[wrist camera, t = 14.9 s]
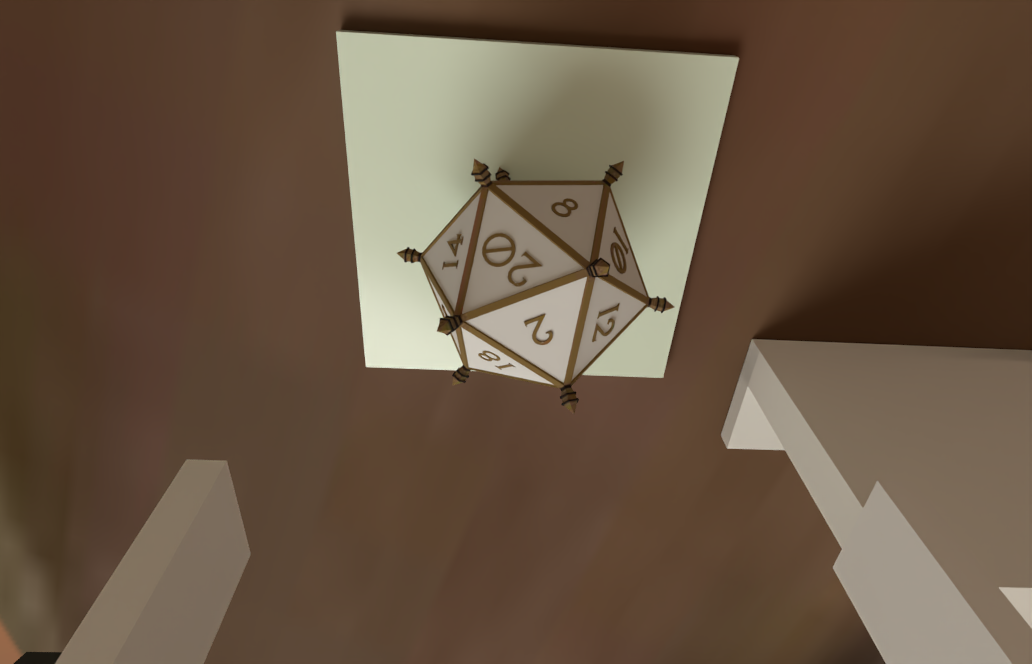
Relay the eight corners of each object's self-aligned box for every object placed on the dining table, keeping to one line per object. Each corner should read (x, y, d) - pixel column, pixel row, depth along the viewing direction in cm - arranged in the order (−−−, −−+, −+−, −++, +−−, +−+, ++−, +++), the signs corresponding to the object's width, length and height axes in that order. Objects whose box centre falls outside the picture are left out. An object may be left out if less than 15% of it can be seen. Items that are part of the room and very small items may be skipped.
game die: (484, 215, 28) (302, 279, 20) (609, 81, 22) (417, 104, 15) (595, 373, 27) (450, 496, 20) (753, 279, 21) (629, 405, 14)
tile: (660, 370, 29) (662, 377, 28) (368, 359, 28) (365, 367, 28) (733, 55, 21) (739, 57, 21) (340, 29, 21) (335, 31, 20)
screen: (1012, 444, 32) (1279, 699, 21) (720, 435, 31) (840, 695, 20) (1074, 352, 29) (1428, 595, 18) (752, 339, 28) (914, 585, 17)
